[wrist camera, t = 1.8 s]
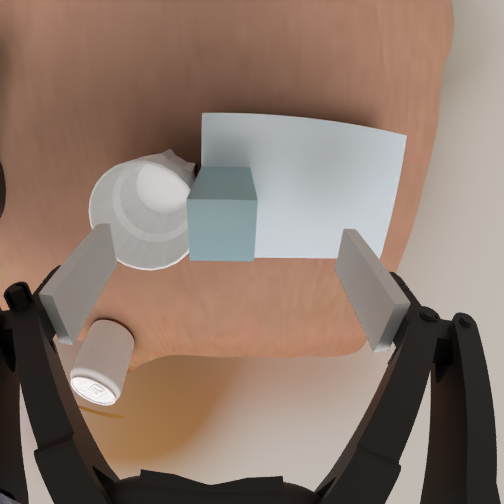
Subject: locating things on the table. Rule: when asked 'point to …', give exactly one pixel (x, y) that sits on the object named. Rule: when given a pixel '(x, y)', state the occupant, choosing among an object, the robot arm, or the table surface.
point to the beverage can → (102, 362)
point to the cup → (145, 209)
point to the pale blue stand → (290, 186)
